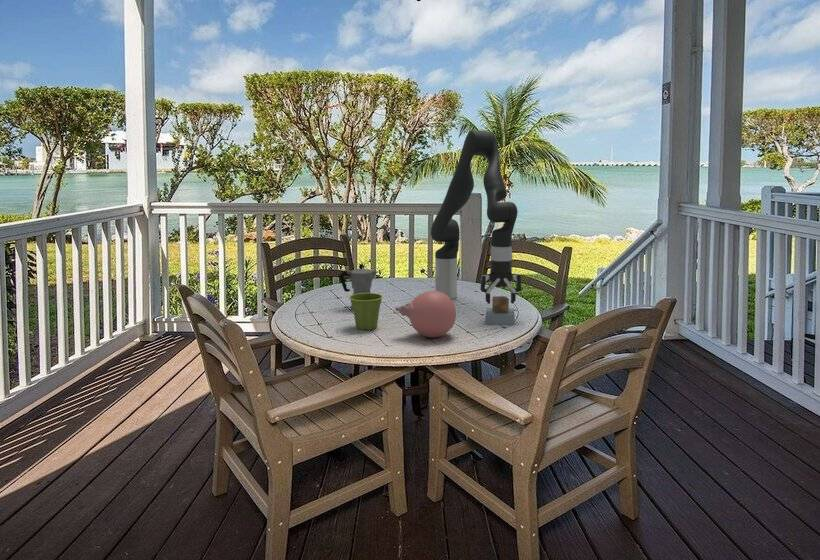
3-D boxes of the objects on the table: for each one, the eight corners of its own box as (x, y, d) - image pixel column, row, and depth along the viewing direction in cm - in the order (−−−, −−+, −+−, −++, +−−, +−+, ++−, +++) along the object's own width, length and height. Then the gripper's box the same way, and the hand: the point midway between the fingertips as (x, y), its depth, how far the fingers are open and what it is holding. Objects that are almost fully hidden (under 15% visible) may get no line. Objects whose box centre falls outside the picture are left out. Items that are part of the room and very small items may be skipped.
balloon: (397, 329, 204) (396, 286, 201) (455, 330, 203) (455, 286, 200) (393, 343, 189) (392, 296, 186) (456, 343, 187) (456, 296, 185)
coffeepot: (375, 304, 241) (374, 261, 237) (381, 310, 232) (380, 264, 229) (338, 307, 236) (336, 263, 233) (342, 313, 228) (341, 267, 224)
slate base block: (485, 325, 210) (485, 314, 209) (486, 318, 220) (486, 307, 219) (514, 326, 209) (514, 315, 208) (513, 319, 218) (513, 308, 217)
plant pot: (343, 330, 204) (342, 298, 202) (360, 322, 215) (359, 291, 212) (374, 333, 199) (373, 301, 197) (389, 325, 210) (388, 294, 208)
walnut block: (494, 313, 211) (494, 299, 210) (492, 309, 216) (492, 296, 215) (508, 312, 211) (508, 299, 210) (505, 309, 216) (506, 296, 215)
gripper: (518, 256, 214) (517, 300, 217) (479, 257, 213) (479, 301, 216) (523, 260, 206) (522, 305, 209) (482, 260, 206) (482, 305, 209)
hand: (500, 303), depth 213 cm, fingers open, 8 cm apart
